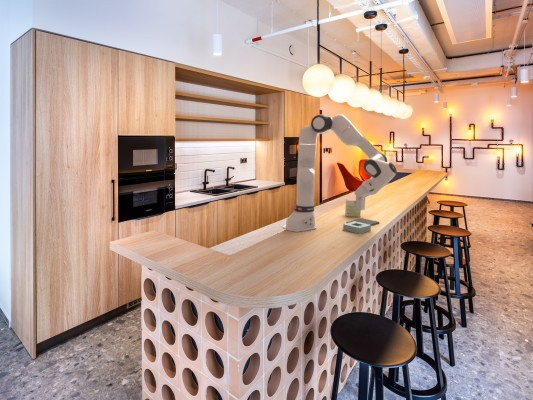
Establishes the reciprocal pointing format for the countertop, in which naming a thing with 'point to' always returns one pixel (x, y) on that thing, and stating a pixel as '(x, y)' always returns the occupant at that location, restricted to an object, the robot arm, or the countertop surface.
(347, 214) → the box
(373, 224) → the mat
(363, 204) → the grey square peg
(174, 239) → the countertop surface
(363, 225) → the block
